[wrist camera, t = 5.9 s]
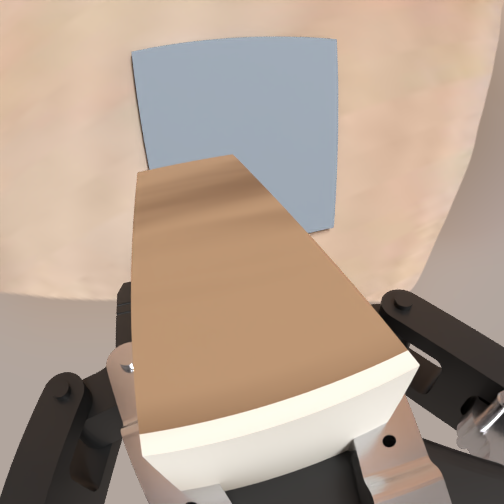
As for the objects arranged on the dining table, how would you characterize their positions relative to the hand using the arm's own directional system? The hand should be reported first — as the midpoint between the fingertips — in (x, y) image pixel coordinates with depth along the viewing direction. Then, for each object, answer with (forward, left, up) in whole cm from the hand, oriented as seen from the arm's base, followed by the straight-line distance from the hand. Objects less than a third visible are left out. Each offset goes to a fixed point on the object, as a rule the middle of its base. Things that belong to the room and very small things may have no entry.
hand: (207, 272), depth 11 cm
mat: (0, +6, -15) cm, 16 cm away
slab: (0, 0, -2) cm, 2 cm away
